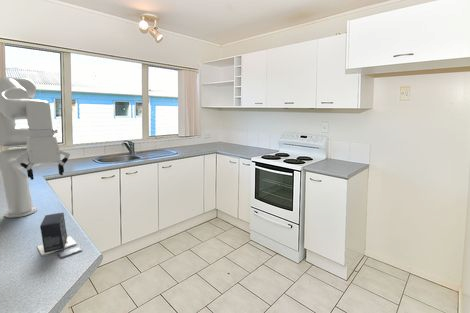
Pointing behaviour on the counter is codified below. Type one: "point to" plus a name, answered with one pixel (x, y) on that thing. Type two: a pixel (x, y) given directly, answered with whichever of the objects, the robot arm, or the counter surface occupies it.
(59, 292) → the counter surface
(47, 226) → the small box
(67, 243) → the outlet plate
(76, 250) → the phone
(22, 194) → the robot arm
